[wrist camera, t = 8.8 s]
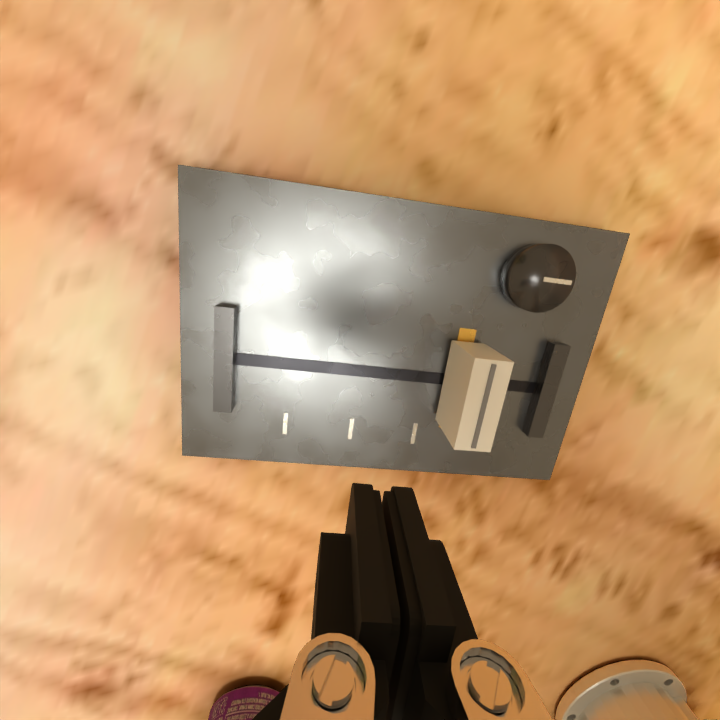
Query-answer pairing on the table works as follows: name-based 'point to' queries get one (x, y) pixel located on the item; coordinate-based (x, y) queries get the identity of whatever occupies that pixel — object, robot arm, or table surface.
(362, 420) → the console
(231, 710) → the beverage can
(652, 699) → the robot arm
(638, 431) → the table surface
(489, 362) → the fader
